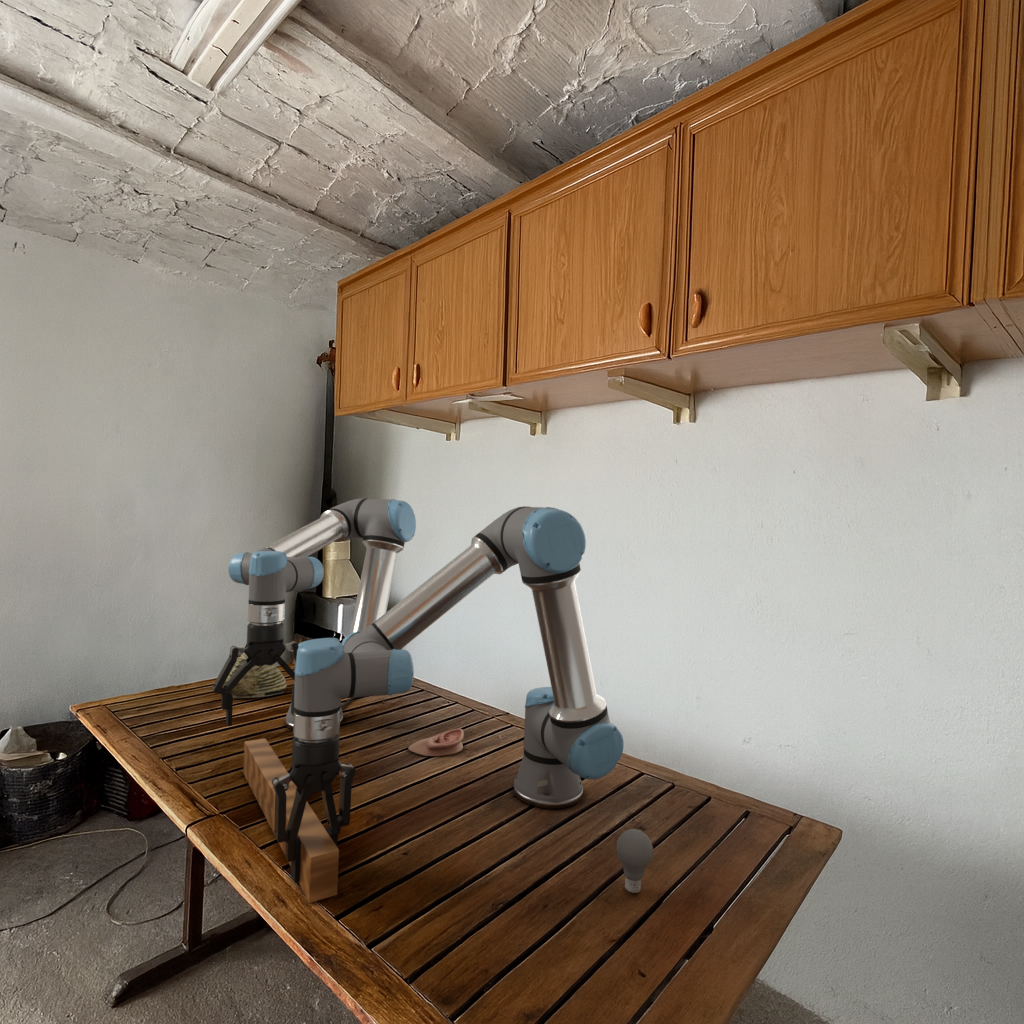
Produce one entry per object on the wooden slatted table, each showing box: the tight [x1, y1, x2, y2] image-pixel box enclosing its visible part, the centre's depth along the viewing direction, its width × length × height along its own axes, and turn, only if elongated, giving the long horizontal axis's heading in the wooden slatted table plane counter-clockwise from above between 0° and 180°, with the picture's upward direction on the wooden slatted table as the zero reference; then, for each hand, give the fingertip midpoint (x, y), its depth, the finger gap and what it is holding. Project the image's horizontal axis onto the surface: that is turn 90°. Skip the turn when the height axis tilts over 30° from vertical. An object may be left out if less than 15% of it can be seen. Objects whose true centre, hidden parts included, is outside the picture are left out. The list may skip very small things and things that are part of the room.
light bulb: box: [615, 828, 654, 894], centre depth 106 cm, size 6×6×10 cm
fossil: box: [223, 653, 288, 699], centre depth 198 cm, size 9×18×15 cm, turn 132°
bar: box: [242, 737, 340, 904], centre depth 122 cm, size 53×4×7 cm, turn 33°
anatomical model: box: [408, 728, 465, 757], centre depth 162 cm, size 13×4×12 cm
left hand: (262, 719), depth 138 cm, fingers open, 13 cm apart
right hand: (311, 873), depth 106 cm, fingers closed on bar, 4 cm apart
